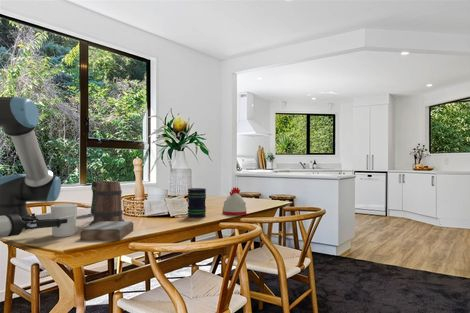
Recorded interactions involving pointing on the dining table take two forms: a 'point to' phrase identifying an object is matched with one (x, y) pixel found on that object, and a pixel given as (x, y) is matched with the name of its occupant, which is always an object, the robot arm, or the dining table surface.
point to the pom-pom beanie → (234, 204)
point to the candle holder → (64, 211)
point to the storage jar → (196, 202)
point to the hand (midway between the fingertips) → (62, 217)
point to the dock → (106, 230)
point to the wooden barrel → (94, 193)
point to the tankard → (107, 202)
